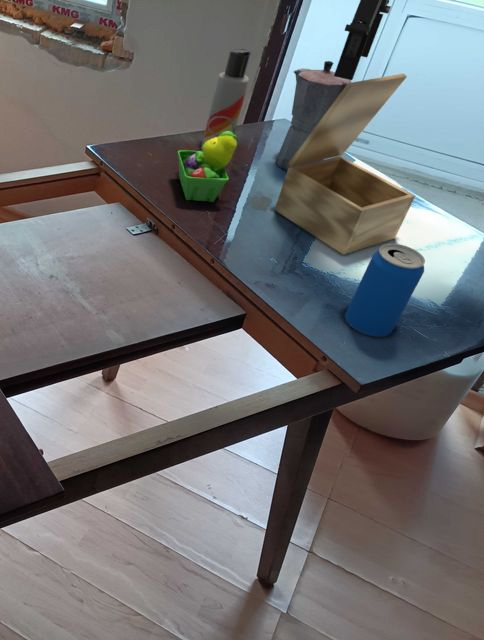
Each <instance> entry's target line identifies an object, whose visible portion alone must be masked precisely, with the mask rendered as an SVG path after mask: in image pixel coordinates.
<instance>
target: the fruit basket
mask: <svg viewBox="0 0 484 640" xmlns="http://www.w3.org/2000/svg"><path fill="white" fill-rule="evenodd" d="M236 138H237V135H236V134H235V133H234V134H233V133H232V132H231V131H225V132H223V133H222V134H220V136H219V137H215V138H212V139H210V140H208V141H206V142H205V143H204V145H203V147H202V146H201V147H202V148H203V151H202V150H191V149H180V150H178V151H177V158H178V178H179V181H180V185H181V188H182V191H183V194H184V198H185V200H186V201H195V202H211V203H214V202H215V200H216V199H217V198H218V196H219V194H220V192H221V191H222V190H223V187H224V185H225V184H227V182H228V181H229V176H228V174H227V170H226V169H225V167H226V166H227V165H228V164H229V163H230V161H232V158H233V155H234V152H235V150H236V149H237V145H238V142H237V140H236Z"/></svg>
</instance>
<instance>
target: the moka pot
mask: <svg viewBox="0 0 484 640" xmlns="http://www.w3.org/2000/svg"><path fill="white" fill-rule="evenodd" d="M333 65H334V62H333V61H330V60H326V61H324V64H323V69H311V68H298V69H296V70H294V71H293V73H294V74H295V88H294V96H293V102H292V107H291V115H292V117H291V121H290V126H289V128H288V129H287V132H286V135H285V137H284V140H283V142H282V145H281V147H280V149H279V152H278V154H277V156H276V158H275V163H276V164H277V166H278V167H280V168H281V169H283V170H286V171H288V168H291V166H290V165H289V164H288V163H289V162H290V161H291V159H292V158H293V157H294V155H295V154H296V153H297V151H298V150H299V149H300V147H301V146H302V145H303V143H304V142H305V141H306V139H307V138H308V136H309V135H310V134H311V132H312V131H313V130H314V128H315V127H316V126H317V124H318V123H319V122H320V120H321V119H322V118H323V116H324V115H325V114H326V112H327V111H328V110H329V108H330V107H331V106H332V104H333V103H334V102H335V100H336V99H337V98H338V96H339V95H340V93H341V92H342V91H343V89H344V88H345V87H346V85H347V84H348V83H352V80H348V79H344V78H339V77H335V76H334V74H335V71H333V70H332V68H333ZM323 160H325V159H323ZM318 161H321V160H318ZM314 162H317V161H314ZM310 163H313V162H310ZM305 164H308V163H305ZM301 165H304V164H301ZM297 166H300V165H297ZM292 167H295V166H292Z"/></svg>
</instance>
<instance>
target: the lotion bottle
mask: <svg viewBox="0 0 484 640" xmlns="http://www.w3.org/2000/svg"><path fill="white" fill-rule="evenodd" d="M251 53H252V52H251V51H250V50H248V49H245V48H237V49H231V50H229V54H228V58H227V61H226V66H225V70H224V71H222V72H219V75H218V77H217V81H216V85H215V89H214V93H213V96H212V97H213V98H212V101H211V105H210V110H209V112H208V113H209V114H208V117H207V122H206V126H205V129H204V134H203V138H202V142H201V148H200V151H202V152H203V148H202V147H203V145H204V143H205V142H206V141H208V140H210V139H212V138H215V137H219V136H220V134H222V133H223V132H225V131H231V132H232V133H233V134H234V135H235V133H236V129H237V127H238V122H239V119H240V115H241V111H242V108H243V103H244V100H245V96H246V93H247V89H248V86H249V82H250V78H249V76H248V75H246V73H247V70H248V66H249V62H250V58H251V55H252V54H251Z"/></svg>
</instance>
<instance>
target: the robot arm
mask: <svg viewBox="0 0 484 640" xmlns="http://www.w3.org/2000/svg"><path fill="white" fill-rule="evenodd" d="M389 3H390V0H359V3H358V4H357V5H358V6H357V8H356V11H355V13H354V15H353V18H352V21H351V22H350V23H349V24H346V25H345V27H344V32H348V34H347V37H346V39H345V43H344V46H343V49H342V51H341V54H340V57H339V60H338V63H337V66H336V68H335V71H334V72H335V74H334V76H335V77H339V78H344V79H348V80H351V81H353V79H354V77H355V74H356V71H357V69H358V66H359V63H360V61H361V57H362V58H368V57H369V55H370V52H371V48H372V46H373V44H374V40H375V38H376V35H377V33H378V30H379V27H380V25H381V22H382V20H383V17H384V14H389V13H390V10H391V8H392V6H391V5H389Z"/></svg>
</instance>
